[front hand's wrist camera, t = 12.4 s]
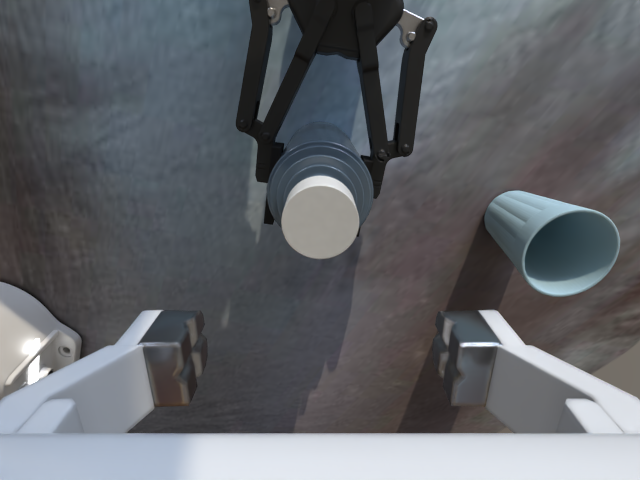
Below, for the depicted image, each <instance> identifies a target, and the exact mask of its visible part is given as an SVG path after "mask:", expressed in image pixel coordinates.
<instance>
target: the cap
mask: <svg viewBox="0 0 640 480" xmlns="http://www.w3.org/2000/svg"><path fill="white" fill-rule="evenodd" d="M281 225H282V231H283V234H284V237H285V239H286V240H287V242H288V243H289V245H290V246H291V247H292V248H293V249H294V250H296V251H297V252H298V253H300V254H302V255H304V256H306V257H310V258H314V259H326V258H331V257H334V256H337V255H339V254H341V253H342V252H344V251H345V250H346V249H347V248H348V247H349V246H350V245H351V244H352V243H353V241H354V240H355V238H356V235H357V233H358V229H359V215H358V211H357V208H356V205H355V202H354V199H353V196H352V194H351V192H350V191H349V189H348V188H347V187H346V186H345V185H344V184H343V183H341V182H340V181H338V180H336V179H334V178H331V177H328V176H313V177H309V178H306V179H304V180H302V181H301V182H299V183H298V184H297V185H296V186H295V187H294V188H293V189H292V190H291V192H290V193H289V195H288V197H287V200H286V203H285V207H284V210H283V213H282V219H281Z"/></svg>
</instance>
